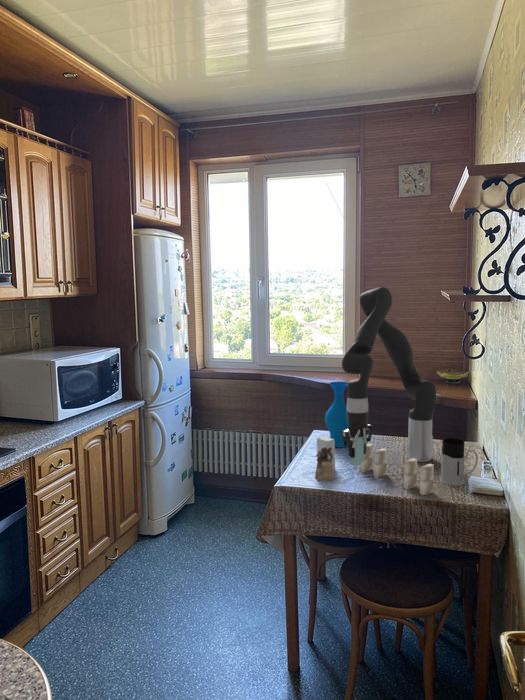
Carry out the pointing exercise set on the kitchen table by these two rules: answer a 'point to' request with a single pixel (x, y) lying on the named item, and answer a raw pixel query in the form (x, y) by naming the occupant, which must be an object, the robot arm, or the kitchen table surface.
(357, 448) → the domino
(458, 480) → the grey black pitcher
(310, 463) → the kitchen table surface
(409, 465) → the domino
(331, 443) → the skincare box
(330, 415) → the vase
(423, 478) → the domino
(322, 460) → the figurine
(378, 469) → the domino
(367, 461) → the domino
